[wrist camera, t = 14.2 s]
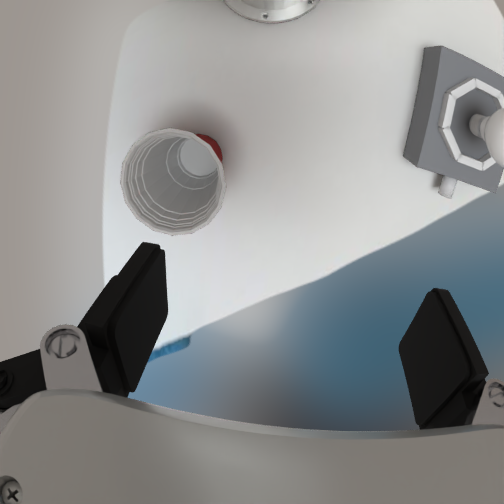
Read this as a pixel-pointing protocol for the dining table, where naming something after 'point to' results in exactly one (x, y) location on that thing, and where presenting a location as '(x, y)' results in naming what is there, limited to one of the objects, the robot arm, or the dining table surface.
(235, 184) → the dining table surface
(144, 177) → the plastic cup
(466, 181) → the octagon ring base plate
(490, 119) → the lightbulb
